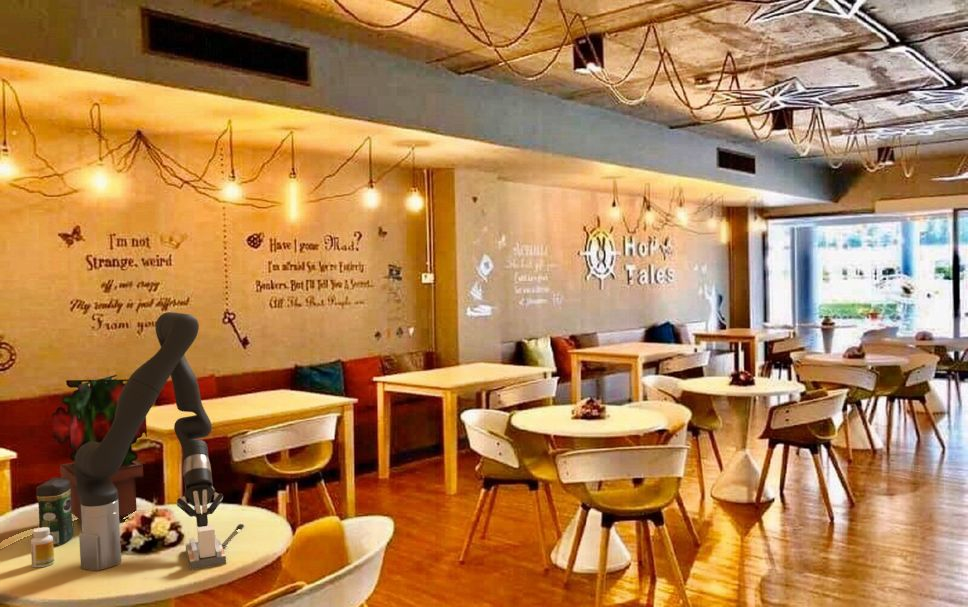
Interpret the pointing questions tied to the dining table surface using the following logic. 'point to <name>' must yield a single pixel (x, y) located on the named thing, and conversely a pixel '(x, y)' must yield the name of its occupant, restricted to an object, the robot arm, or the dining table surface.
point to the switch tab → (206, 541)
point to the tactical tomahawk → (231, 536)
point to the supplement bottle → (42, 548)
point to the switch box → (199, 562)
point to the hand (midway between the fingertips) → (202, 527)
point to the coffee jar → (56, 509)
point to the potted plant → (96, 436)
